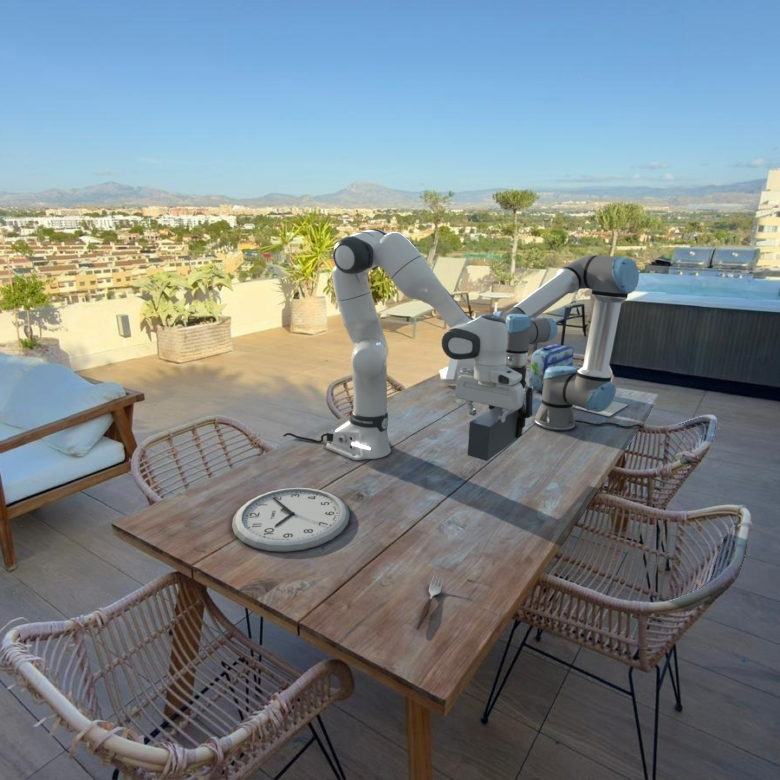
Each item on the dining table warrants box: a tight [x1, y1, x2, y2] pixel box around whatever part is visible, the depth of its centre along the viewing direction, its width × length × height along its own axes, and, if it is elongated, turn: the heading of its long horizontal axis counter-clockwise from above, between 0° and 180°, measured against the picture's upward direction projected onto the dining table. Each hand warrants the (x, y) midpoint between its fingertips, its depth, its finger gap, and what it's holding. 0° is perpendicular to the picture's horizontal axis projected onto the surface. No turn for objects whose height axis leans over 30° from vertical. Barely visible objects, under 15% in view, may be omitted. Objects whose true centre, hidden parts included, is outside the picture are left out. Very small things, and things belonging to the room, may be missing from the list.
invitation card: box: [573, 400, 629, 418], centre depth 226 cm, size 21×1×15 cm
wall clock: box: [231, 487, 351, 553], centre depth 136 cm, size 30×2×30 cm
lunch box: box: [528, 344, 574, 393], centre depth 247 cm, size 26×11×21 cm, turn 134°
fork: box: [416, 572, 445, 631], centre depth 105 cm, size 3×16×2 cm, turn 160°
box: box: [467, 404, 526, 462], centre depth 161 cm, size 25×6×11 cm, turn 143°
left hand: (486, 418), depth 152 cm, fingers open, 8 cm apart
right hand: (508, 433), depth 169 cm, fingers closed on box, 6 cm apart
